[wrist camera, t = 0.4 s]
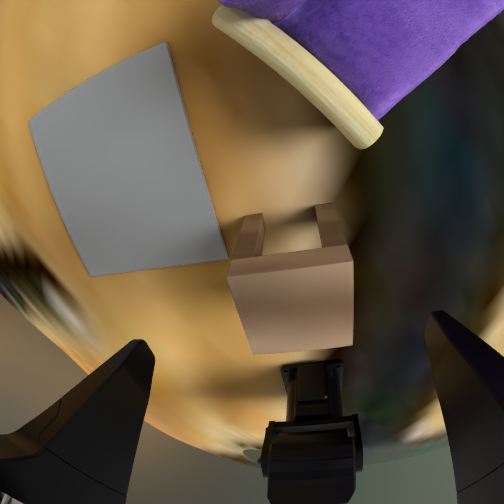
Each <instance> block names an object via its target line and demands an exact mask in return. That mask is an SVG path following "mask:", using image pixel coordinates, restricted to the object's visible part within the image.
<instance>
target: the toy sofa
mask: <svg viewBox="0 0 504 504" xmlns="http://www.w3.org/2000/svg"><path fill="white" fill-rule="evenodd" d="M219 2H220V3H221V4H222V5H220V6H219V7H218V8H217V10H216V11H215V12H214V15H213V18H212V24H213V25H214V27H216V28H217V29H219V30H220V31H222V32H223V33H225V34H226V35H228V36H229V37H231V38H232V39H233V40H235V41H236V42H238V43H239V44H241V45H242V46H243V47H245V48H246V49H247V50H249V51H250V52H251V53H253V54H254V55H255V56H257V57H258V58H259V59H261V60H262V61H263V62H265V63H266V64H267V65H268V66H270V67H271V68H272V69H273V70H275V71H276V72H277V73H278V74H279V75H281V76H282V77H283V78H284V79H285V80H287V81H288V82H289V83H290V84H291V85H292V86H293V87H295V88H296V89H297V90H298V91H299V92H300V93H301V94H302V95H304V96H305V97H306V98H307V99H308V100H309V101H310V102H311V103H312V104H313V105H314V106H315V107H316V108H317V109H319V110H320V111H321V112H322V113H323V114H324V115H325V116H326V117H327V118H328V119H329V120H330V121H331V122H332V123H333V124H334V125H335V126H336V127H337V128H338V129H339V130H340V131H341V133H342V134H343V135H344V136H345V137H346V138H347V139H348V140H349V141H350V142H351V143H352V144H353V145H354V146H355V147H356V148H358V149H365V148H367V147H369V146H371V145H372V144H373V143H374V142H375V141H376V140H377V139H378V138H379V137H380V135H381V134H382V131H383V126H382V125H381V124H380V123H379V122H378V120H379V119H380V118H381V117H382V116H384V115H385V114H386V113H387V112H388V111H389V110H390V109H391V108H392V107H393V106H394V105H396V104H397V103H398V102H399V101H400V100H401V99H402V98H403V97H405V96H406V95H407V94H408V93H410V92H411V91H412V90H413V89H414V88H415V87H417V86H418V85H419V84H420V83H421V82H422V81H424V80H425V79H426V78H428V77H429V76H430V75H431V74H432V73H433V72H434V71H435V70H436V69H438V68H439V67H440V66H441V65H442V64H443V63H444V62H445V61H446V60H447V59H448V58H449V57H451V55H452V54H453V53H455V52H456V50H457V48H458V47H459V46H460V45H461V44H462V43H464V42H465V41H467V40H468V38H469V37H470V36H472V35H473V34H474V33H476V32H477V31H478V30H479V29H480V28H481V27H482V26H485V25H486V23H487V22H489V21H490V20H493V18H494V17H495V16H496V15H497V14H499V15H500V13H501V11H502V10H503V9H504V0H219Z"/></svg>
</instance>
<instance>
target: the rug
mask: <svg viewBox="0 0 504 504" xmlns="http://www.w3.org/2000/svg"><path fill="white" fill-rule="evenodd" d="M28 122H29V126H30V129H31V133H32V137H33V140H34V143H35V147H36V150H37V153H38V156H39V159H40V162H41V165H42V168H43V171H44V174H45V177H46V180H47V182H48V185H49V188H50V190H51V193H52V195H53V198H54V200H55V203H56V205H57V208H58V210H59V212H60V215H61V217H62V219H63V222H64V224H65V226H66V228H67V230H68V233H69V235H70V237H71V239H72V241H73V243H74V245H75V247H76V249H77V251H78V253H79V255H80V257H81V259H82V261H83V263H84V265H85V267H86V269H87V270H88V272H89V274H90V276H91V277H93V276H101V275H109V274H117V273H125V272H133V271H140V270H148V269H156V268H164V267H171V266H179V265H187V264H194V263H202V262H209V261H217V260H225V259H228V253H227V250H226V247H225V243H224V240H223V237H222V234H221V230H220V227H219V224H218V221H217V217H216V214H215V211H214V207H213V204H212V201H211V197H210V194H209V190H208V187H207V184H206V180H205V177H204V173H203V170H202V166H201V163H200V160H199V156H198V153H197V149H196V146H195V142H194V138H193V135H192V131H191V128H190V124H189V120H188V117H187V113H186V110H185V106H184V102H183V99H182V95H181V91H180V87H179V84H178V80H177V76H176V72H175V68H174V65H173V61H172V57H171V53H170V49H169V45H168V42H163V43H161V44H158V45H156V46H153V47H151V48H149V49H146V50H144V51H142V52H140V53H138V54H135V55H133V56H131V57H129V58H127V59H125V60H123V61H121V62H119V63H117V64H115V65H113V66H111V67H109V68H107V69H105V70H104V71H102V72H100V73H98V74H96V75H95V76H93V77H91V78H90V79H88V80H86V81H85V82H83V83H81V84H80V85H78V86H76V87H75V88H73V89H72V90H70V91H69V92H67V93H66V94H64V95H63V96H61V97H60V98H58V99H57V100H55V101H54V102H52V103H51V104H50V105H48V106H47V107H46V108H44V109H43V110H41V111H40V112H39V113H38V114H36V115H35V116H34V117H32V118H31V119H30V120H29V121H28Z"/></svg>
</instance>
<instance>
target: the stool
mask: <svg viewBox="0 0 504 504" xmlns="http://www.w3.org/2000/svg"><path fill="white" fill-rule="evenodd" d="M315 211H316V218H317V224H318V229H319V234H320V238H321V243H322V248H318V249H311V250H303V251H296V252H288V253H281V254H273V255H266V256H262V250H263V243H264V236H265V229H266V228H265V224H264V219H263V215H262V213H260V214H254V215H247V216H245V217H244V221H243V224H242V227H241V230H240V233H239V237H238V240H237V243H236V246H235V250H234V253H233V256H232V260H231V263H230V266H229V269H228V273H227V276H226V278H227V281H228V284H229V287H230V290H231V293H232V296H233V299H234V302H235V305H236V308H237V310H238V313H239V316H240V319H241V322H242V325H243V327H244V330H245V333H246V336H247V339H248V341H249V344H250V347H251V350H252V353H253V355H259V354H274V353H287V352H298V351H309V350H318V349H327V348H335V347H342V346H349V345H353V315H354V277H353V259H352V256H351V253H350V250H349V247H348V245H347V242H346V239H345V236H344V233H343V230H342V228H341V225H340V222H339V219H338V217H337V214H336V211H335V209H334V206H333V204H332V203H328V204H321V205H315Z"/></svg>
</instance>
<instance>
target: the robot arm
mask: <svg viewBox="0 0 504 504" xmlns="http://www.w3.org/2000/svg"><path fill="white" fill-rule="evenodd" d="M425 341H426V346H427V350H428V355H429V360H430V365H431V370H432V375H433V380H434V384H435V388H436V392H437V395H438V399H439V402H440V406H441V410H442V414H443V418H444V422H445V427H446V431H447V436H448V441H449V446H450V451H451V456H452V461H453V469H454V475H455V483H456V491H457V503H458V504H504V357H503V356H502V355H501V354H500V353H498V352H497V351H496V350H495V349H493V348H492V347H491V346H490V345H488V344H487V343H486V342H485V341H483V340H482V339H481V338H479V337H478V336H477V335H476V334H474V333H473V332H472V331H470V330H469V329H468V328H466V327H465V326H464V325H462V324H461V323H460V322H458V321H457V320H456V319H454V318H453V317H452V316H450V315H449V314H447V313H446V312H445V311H443V310H438V311H434V312H431V313H430V314H429V316H428V321H427V325H426V329H425ZM154 366H155V356H154V354H153V352H152V351H151V349H150V348H149V346H148V345H147V343H146V342H145V341H144V340H142V339H134V340H132V341H130V342H129V343H128V344H127V345H125V346H124V347H123V348H122V349H120V350H119V351H118V352H117V353H115V354H114V355H113V356H112V357H110V358H109V359H108V360H107V361H106V362H104V363H103V364H102V365H101V366H99V367H98V368H97V369H96V370H94V371H93V372H92V373H91V374H90V375H88V376H87V377H86V378H85V379H83V380H82V381H81V382H80V383H79V384H77V385H76V386H75V387H74V388H72V389H71V390H70V391H69V392H68V393H66V394H65V395H64V396H63V397H62V398H60V399H59V400H58V401H57V402H55V403H54V404H53V405H52V406H50V407H49V408H48V409H46V410H45V411H44V412H42V413H41V414H40V415H38V416H37V417H35V418H34V419H32V420H31V421H30V422H28V423H27V424H25V425H24V426H22V427H21V428H20V429H18V430H16V431H15V432H13V433H10V434H4V435H0V504H125V503H126V497H127V496H126V495H127V492H128V487H129V482H130V476H131V472H132V467H133V462H134V458H135V454H136V449H137V445H138V441H139V437H140V432H141V429H142V425H143V421H144V417H145V413H146V409H147V405H148V401H149V396H150V390H151V384H152V377H153V371H154ZM281 374H282V377H283V381H284V385H285V388H286V392H287V414H286V422H275V421H269V425H268V427H267V428H266V433H265V438H264V443H263V447H262V450H261V452H260V455H259V458H258V465H259V466H260V467H261V468H262V473H263V477H264V478H265V479H268V495H267V498H268V500H269V502H270V503H271V504H347V503H348V502H349V500H350V499H351V497H352V495H353V493H354V491H355V488H356V473H361V472H362V468H363V447H362V439H361V432H360V426H359V420H358V414H353V415H352V416H344V417H342V403H341V392H342V389H343V361H342V360H335V361H327V362H318V363H308V364H297V365H285V366H282V367H281ZM348 436H350V437H348Z"/></svg>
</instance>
